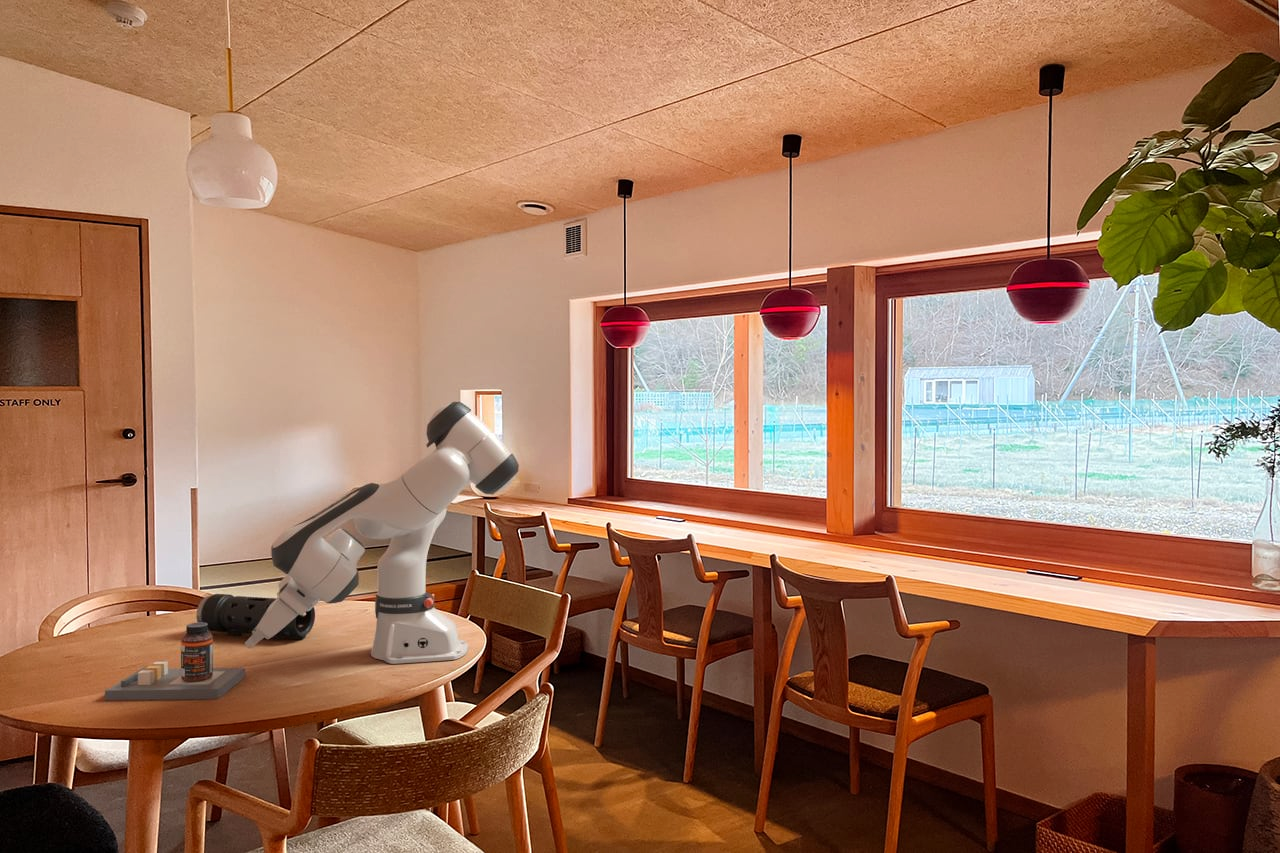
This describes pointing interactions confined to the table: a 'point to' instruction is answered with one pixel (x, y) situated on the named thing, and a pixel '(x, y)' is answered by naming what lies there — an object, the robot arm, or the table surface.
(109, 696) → the breaker board
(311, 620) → the muzzle brake
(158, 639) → the table surface
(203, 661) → the supplement bottle
